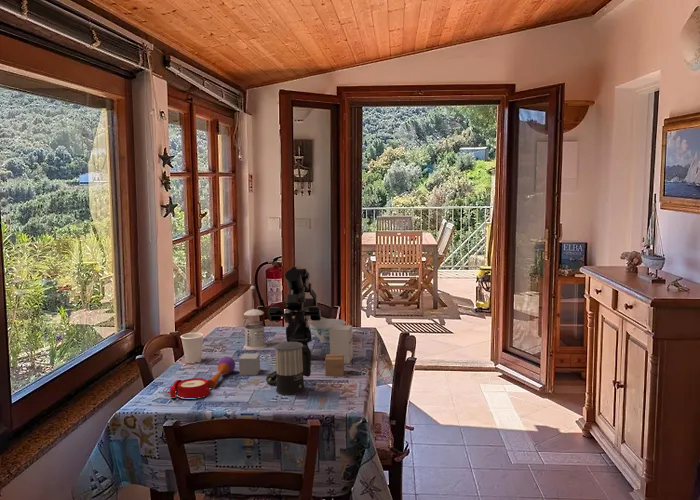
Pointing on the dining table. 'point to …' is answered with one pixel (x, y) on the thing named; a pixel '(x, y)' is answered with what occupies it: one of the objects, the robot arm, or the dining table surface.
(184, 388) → the alarm clock
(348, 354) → the supplement box
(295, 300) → the robot arm
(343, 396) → the dining table surface
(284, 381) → the milk frother
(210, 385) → the kendama
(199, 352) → the dixie cup
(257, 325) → the french press
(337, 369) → the walnut block
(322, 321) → the chinaware
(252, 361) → the beige block
